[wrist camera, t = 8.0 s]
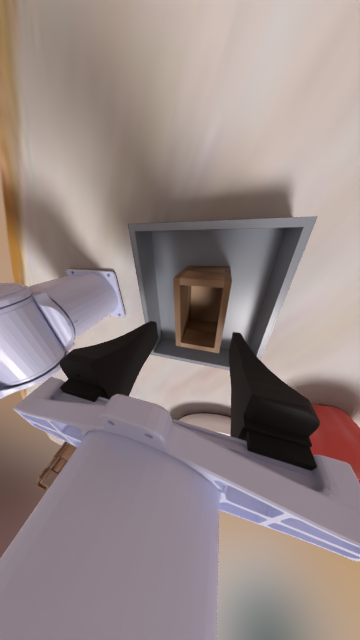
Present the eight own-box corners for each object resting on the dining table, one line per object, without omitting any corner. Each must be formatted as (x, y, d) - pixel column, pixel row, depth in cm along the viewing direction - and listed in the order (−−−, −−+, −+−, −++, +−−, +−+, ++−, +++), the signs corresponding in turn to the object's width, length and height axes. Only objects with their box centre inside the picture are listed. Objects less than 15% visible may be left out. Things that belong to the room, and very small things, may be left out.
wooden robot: (74, 444, 110) (43, 487, 91) (64, 438, 108) (31, 481, 90) (88, 439, 88) (51, 495, 69) (77, 432, 86) (35, 487, 68)
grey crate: (161, 337, 26) (150, 354, 23) (148, 225, 17) (127, 223, 14) (249, 352, 23) (254, 375, 19) (292, 220, 14) (317, 216, 10)
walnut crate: (187, 320, 22) (175, 345, 17) (188, 265, 18) (173, 277, 13) (220, 324, 21) (219, 353, 16) (230, 266, 16) (232, 281, 11)
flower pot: (323, 389, 22) (376, 475, 15) (380, 422, 23) (462, 524, 15) (270, 411, 29) (287, 480, 21) (315, 437, 29) (350, 515, 21)
